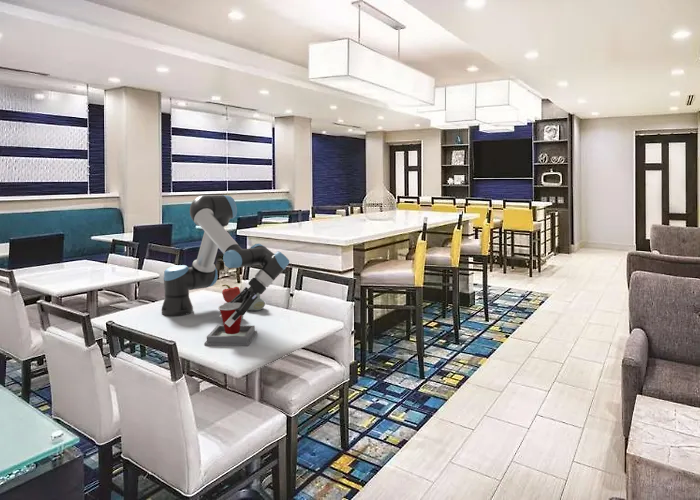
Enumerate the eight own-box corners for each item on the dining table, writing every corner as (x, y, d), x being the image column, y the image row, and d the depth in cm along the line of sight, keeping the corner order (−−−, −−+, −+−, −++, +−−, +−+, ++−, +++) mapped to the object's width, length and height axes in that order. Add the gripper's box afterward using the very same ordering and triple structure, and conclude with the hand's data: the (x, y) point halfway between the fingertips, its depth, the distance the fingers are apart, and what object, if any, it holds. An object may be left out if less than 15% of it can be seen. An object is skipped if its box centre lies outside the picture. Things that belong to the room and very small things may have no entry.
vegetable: (217, 304, 270) (217, 286, 269) (227, 299, 280) (226, 282, 279) (235, 305, 267) (235, 287, 266) (244, 301, 277) (244, 283, 276)
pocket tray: (216, 332, 220) (216, 324, 220) (256, 332, 220) (256, 325, 220) (204, 345, 202) (204, 337, 202) (248, 346, 202) (248, 337, 202)
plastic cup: (221, 328, 216) (220, 301, 214) (246, 328, 217) (245, 301, 215) (216, 336, 205) (215, 308, 203) (242, 336, 206) (242, 308, 204)
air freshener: (258, 306, 266) (258, 288, 265) (267, 309, 261) (267, 290, 259) (241, 310, 259) (240, 291, 257) (250, 313, 253) (250, 293, 252)
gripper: (274, 293, 205) (236, 334, 200) (259, 283, 225) (225, 320, 220) (261, 281, 202) (223, 323, 197) (247, 272, 222) (213, 309, 218)
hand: (224, 321), depth 209 cm, fingers closed on plastic cup, 10 cm apart
